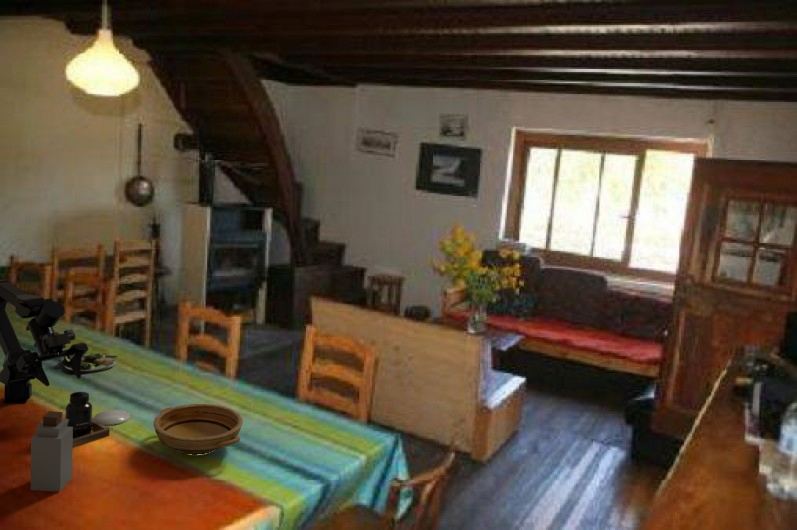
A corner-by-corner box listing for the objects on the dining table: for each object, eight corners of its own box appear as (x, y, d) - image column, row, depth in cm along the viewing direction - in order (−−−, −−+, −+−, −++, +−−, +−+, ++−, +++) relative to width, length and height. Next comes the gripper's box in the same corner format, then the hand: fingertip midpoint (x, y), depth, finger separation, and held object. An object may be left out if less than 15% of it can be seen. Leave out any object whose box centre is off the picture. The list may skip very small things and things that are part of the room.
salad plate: (109, 354, 250) (109, 342, 249) (127, 368, 237) (127, 356, 237) (54, 361, 236) (54, 349, 236) (71, 377, 224) (71, 364, 223)
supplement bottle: (80, 441, 180) (81, 401, 178) (59, 437, 181) (59, 396, 179) (96, 431, 186) (97, 392, 184) (76, 427, 188) (76, 388, 185)
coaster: (90, 425, 190) (90, 423, 190) (97, 411, 199) (97, 409, 199) (127, 425, 192) (127, 423, 192) (132, 411, 202) (132, 410, 202)
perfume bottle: (43, 475, 161) (44, 407, 158) (71, 477, 161) (73, 409, 158) (30, 490, 154) (31, 419, 151) (60, 491, 155) (61, 421, 152)
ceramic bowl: (127, 443, 182) (128, 416, 180) (197, 418, 202) (198, 394, 201) (198, 480, 166) (200, 451, 165) (265, 449, 186) (267, 423, 185)
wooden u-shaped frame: (46, 435, 181) (47, 429, 181) (89, 422, 191) (89, 416, 191) (69, 448, 175) (69, 442, 175) (111, 434, 185) (111, 428, 185)
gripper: (21, 326, 178) (42, 376, 174) (86, 316, 193) (106, 361, 189) (6, 346, 183) (27, 395, 179) (70, 335, 199) (90, 379, 195)
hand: (64, 381), depth 186 cm, fingers open, 9 cm apart
